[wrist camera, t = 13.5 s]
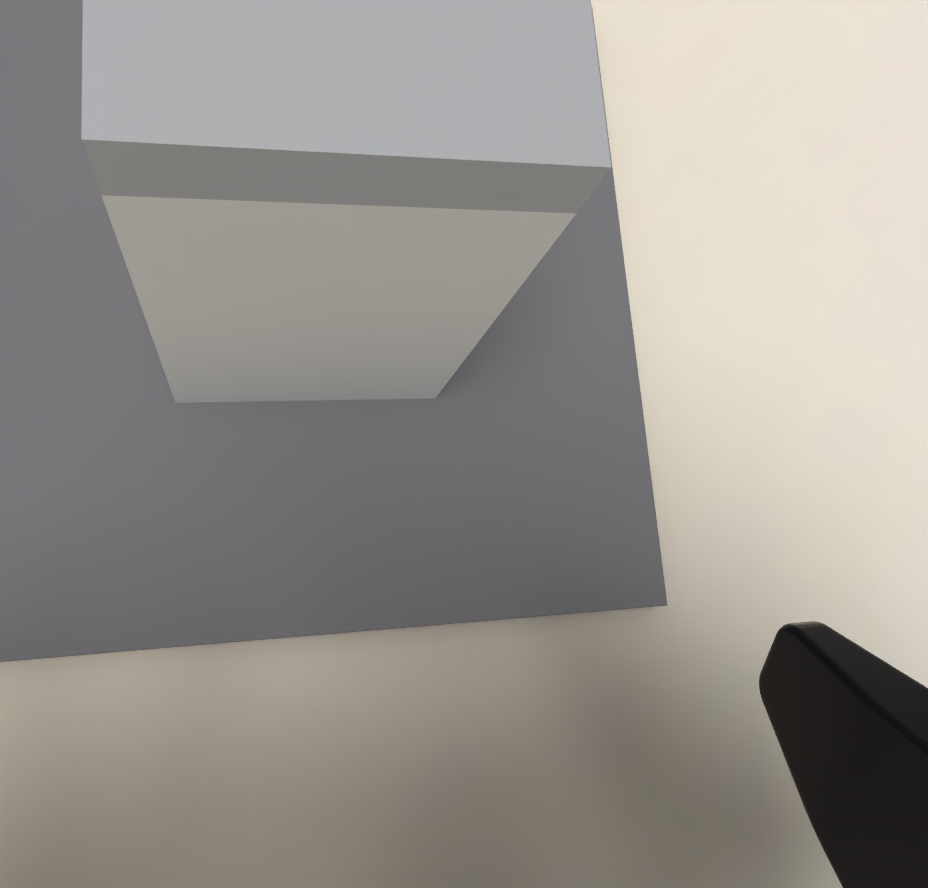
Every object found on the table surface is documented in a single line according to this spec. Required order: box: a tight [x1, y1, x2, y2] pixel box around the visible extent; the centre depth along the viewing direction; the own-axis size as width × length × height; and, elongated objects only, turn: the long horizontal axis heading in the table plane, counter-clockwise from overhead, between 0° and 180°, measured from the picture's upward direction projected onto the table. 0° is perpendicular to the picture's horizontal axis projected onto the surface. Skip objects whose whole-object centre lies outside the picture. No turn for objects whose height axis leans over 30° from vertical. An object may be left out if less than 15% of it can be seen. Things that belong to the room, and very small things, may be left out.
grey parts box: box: [81, 0, 611, 403], centre depth 13 cm, size 5×5×9 cm
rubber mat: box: [0, 0, 667, 662], centre depth 17 cm, size 14×14×1 cm
